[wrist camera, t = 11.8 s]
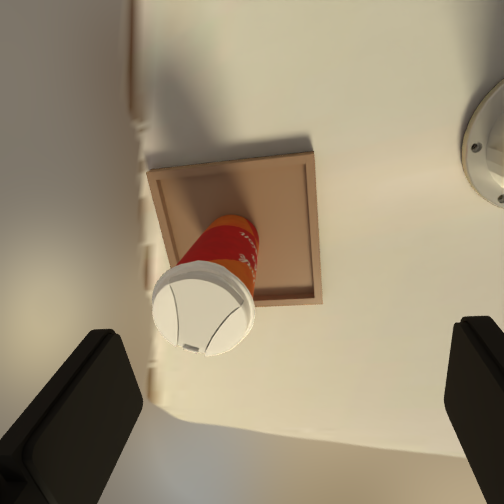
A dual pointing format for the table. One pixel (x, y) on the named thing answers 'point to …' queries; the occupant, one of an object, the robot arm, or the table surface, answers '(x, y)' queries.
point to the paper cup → (210, 290)
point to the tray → (249, 217)
